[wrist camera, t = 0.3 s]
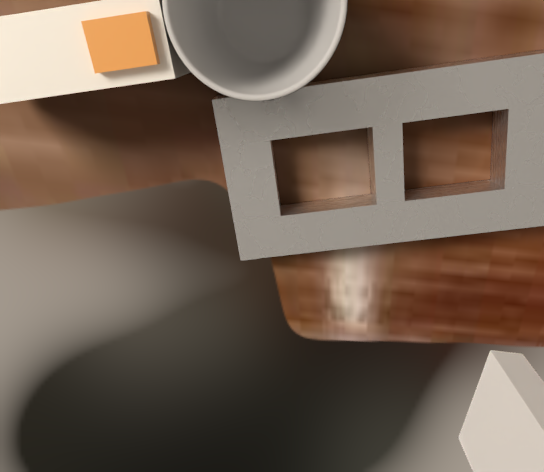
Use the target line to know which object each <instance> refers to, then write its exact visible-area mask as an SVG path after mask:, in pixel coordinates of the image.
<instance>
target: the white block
mask: <svg viewBox="0 0 544 472" xmlns="http://www.w3.org/2000/svg"><path fill="white" fill-rule="evenodd" d="M188 73H191V71H190V70H189V69H188V68H187V67H186V66H185V64H184V63H183V61H182V60H181V59H180V57H179V56H178V54H177V52H176V50H175V49H174V46H173V44H172V42H171V40H170V37H169V34H168V32H167V28H166V24H165V20H164V15H163V6H162V0H101V1H95V2H89V3H82V4H76V5H70V6H64V7H57V8H51V9H45V10H38V11H32V12H26V13H19V14H13V15H7V16H1V17H0V104H2V103H9V102H16V101H23V100H30V99H37V98H44V97H51V96H58V95H65V94H72V93H79V92H86V91H92V90H99V89H106V88H113V87H120V86H127V85H134V84H141V83H148V82H155V81H162V80H169V79H175V78H178V77H181V76H183V75H186V74H188Z"/></svg>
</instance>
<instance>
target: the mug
mask: <svg viewBox="0 0 544 472" xmlns="http://www.w3.org/2000/svg"><path fill="white" fill-rule="evenodd" d="M162 6H163V15H164V20H165V24H166V28H167V32H168V34H169V37H170V40H171V42H172V44H173V46H174V49H175V50H176V52H177V54H178V56H179V57H180V59H181V60H182V61H183V63H184V64H185V66H186V67H187V68H188V69H189V70H190V71H191V72H192V73H193V74H194V75H195V76H196V77H197V78H198V79H199V80H200V81H201V82H203V83H204V84H205V85H207V86H208V87H210V88H211V89H213V90H215V91H217V92H218V93H221V94H223V95H225V96H228V97H231V98H234V99H239V100H244V101H269V100H274V99H278V98H281V97H284V96H287V95H289V94H292V93H294V92H296V91H297V90H299V89H301V88H302V87H304V86H305V85H307V84H308V83H309V82H311V81H312V80H313V79H314V78H315V77H316V76H317V75H318V74H319V73H320V72H321V71H322V70H323V69H324V67H325V66H326V65H327V64H328V62H329V61H330V59H331V58H332V56H333V54H334V52H335V50H336V49H337V46H338V44H339V42H340V39H341V36H342V33H343V30H344V26H345V22H346V16H347V6H348V0H162Z"/></svg>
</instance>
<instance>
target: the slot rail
mask: <svg viewBox="0 0 544 472" xmlns="http://www.w3.org/2000/svg"><path fill="white" fill-rule="evenodd" d="M212 104H213V109H214V115H215V120H216V126H217V132H218V137H219V143H220V148H221V154H222V159H223V165H224V171H225V176H226V182H227V187H228V193H229V198H230V203H231V209H232V215H233V221H234V226H235V231H236V237H237V242H238V248H239V253H240V259H241V260H250V259H258V258H267V257H276V256H285V255H293V254H302V253H311V252H320V251H328V250H337V249H346V248H354V247H363V246H372V245H381V244H389V243H398V242H407V241H415V240H424V239H433V238H442V237H450V236H459V235H468V234H477V233H485V232H494V231H503V230H511V229H520V228H529V227H538V226H544V50H537V51H530V52H523V53H516V54H509V55H501V56H494V57H487V58H480V59H473V60H466V61H459V62H452V63H445V64H438V65H430V66H423V67H416V68H409V69H402V70H395V71H388V72H381V73H374V74H367V75H359V76H352V77H345V78H338V79H331V80H324V81H317V82H310V83H308V84H307V85H305V86H304V87H302V88H301V89H299V90H297V91H296V92H294V93H292V94H289V95H287V96H284V97H281V98H278V99H274V100H269V101H244V100H239V99H234V98H231V97H228V96H225V95H217V96H216V97H214V98H213V99H212ZM488 111H493V125H492V149H491V173H490V179H489V180H481V181H473V182H464V183H456V184H448V185H440V186H432V187H424V188H415V189H407V190H404V163H403V131H402V123H405V122H413V121H420V120H428V119H436V118H443V117H451V116H458V115H466V114H473V113H481V112H488ZM360 128H367V138H368V155H369V172H370V188H371V194H367V195H358V196H350V197H342V198H334V199H326V200H318V201H309V202H301V203H293V204H285V205H281V202H280V195H279V188H278V181H277V173H276V166H275V159H274V151H273V144H272V140H277V139H285V138H292V137H300V136H307V135H315V134H323V133H330V132H338V131H345V130H353V129H360Z"/></svg>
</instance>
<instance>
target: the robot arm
mask: <svg viewBox="0 0 544 472" xmlns="http://www.w3.org/2000/svg"><path fill="white" fill-rule="evenodd" d="M459 441H460V443H461V445H462V448H463V450H464V452H465V454H466V456H467V459H468V461H469V464H470V466H471V468H472V471H473V472H544V382H543V381H542V379H541V378H540V377H539V375H538V374H537V373H536V371H535V370H534V369H533V367H532V366H531V365H530V363H529V362H528V361H527V359H526V358H525V357H524V355H523V354H520V353H511V352H502V351H494V350H490V353H489V355H488V358H487V361H486V364H485V366H484V369H483V372H482V375H481V377H480V380H479V383H478V386H477V388H476V391H475V394H474V396H473V399H472V402H471V405H470V408H469V410H468V413H467V415H466V418H465V421H464V424H463V426H462V430H461V432H460V435H459Z"/></svg>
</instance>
